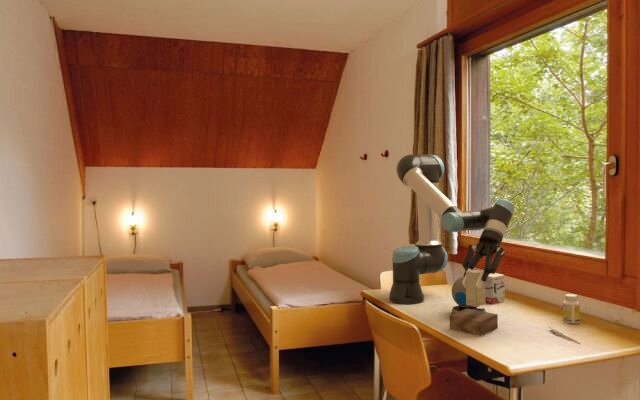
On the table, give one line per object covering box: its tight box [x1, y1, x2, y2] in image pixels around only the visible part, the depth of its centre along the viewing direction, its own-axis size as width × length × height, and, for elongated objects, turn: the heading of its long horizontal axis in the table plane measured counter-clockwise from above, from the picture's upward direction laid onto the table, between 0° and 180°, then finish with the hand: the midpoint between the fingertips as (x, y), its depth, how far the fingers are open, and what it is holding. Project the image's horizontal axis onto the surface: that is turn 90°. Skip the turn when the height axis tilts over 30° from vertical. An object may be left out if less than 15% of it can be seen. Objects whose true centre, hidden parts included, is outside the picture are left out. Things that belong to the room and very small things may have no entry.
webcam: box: [451, 275, 487, 315], centre depth 189 cm, size 13×13×15 cm
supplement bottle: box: [562, 293, 581, 324], centre depth 175 cm, size 5×5×10 cm
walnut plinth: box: [449, 308, 499, 337], centre depth 170 cm, size 12×12×5 cm
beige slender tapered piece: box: [548, 325, 582, 345], centre depth 159 cm, size 15×3×2 cm, turn 12°
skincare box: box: [466, 268, 486, 308], centre depth 169 cm, size 6×4×12 cm
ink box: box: [485, 272, 506, 305], centre depth 206 cm, size 8×5×12 cm, turn 123°
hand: (470, 286), depth 167 cm, fingers closed on skincare box, 4 cm apart
